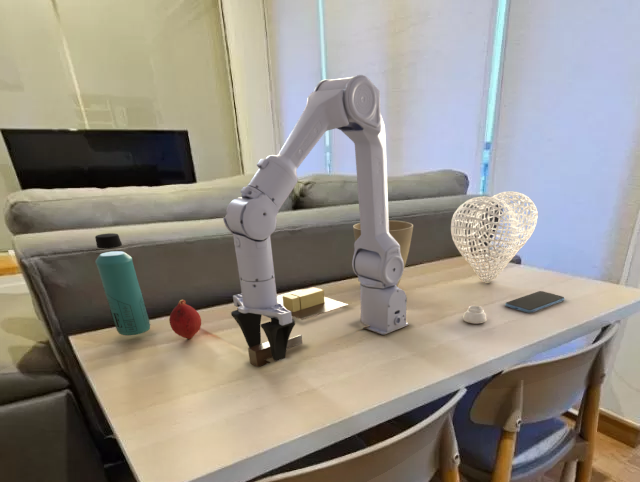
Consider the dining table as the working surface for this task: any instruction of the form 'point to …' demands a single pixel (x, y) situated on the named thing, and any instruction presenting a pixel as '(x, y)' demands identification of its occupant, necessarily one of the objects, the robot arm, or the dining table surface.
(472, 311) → the white jar
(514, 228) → the heart
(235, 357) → the dining table surface
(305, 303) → the butter block
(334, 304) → the board
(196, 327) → the onion
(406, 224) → the plant pot
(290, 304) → the butter slice
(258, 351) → the knife
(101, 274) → the beverage bottle
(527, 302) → the smartphone
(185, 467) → the dining table surface
